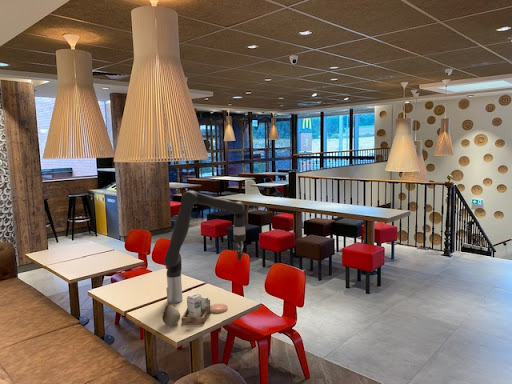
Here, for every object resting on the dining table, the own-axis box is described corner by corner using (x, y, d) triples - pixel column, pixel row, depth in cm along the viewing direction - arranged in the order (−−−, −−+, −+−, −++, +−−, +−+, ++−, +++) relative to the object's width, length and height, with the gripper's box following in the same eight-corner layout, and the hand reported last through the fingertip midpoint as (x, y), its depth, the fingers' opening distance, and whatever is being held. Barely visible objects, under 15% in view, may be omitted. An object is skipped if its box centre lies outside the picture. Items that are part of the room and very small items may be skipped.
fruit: (174, 318, 226) (172, 299, 224) (184, 322, 220) (183, 303, 218) (159, 325, 218) (158, 305, 217) (170, 329, 212) (168, 309, 211)
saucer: (206, 313, 231) (206, 311, 231) (210, 305, 243) (210, 303, 243) (225, 313, 230) (225, 311, 230) (229, 305, 242) (229, 303, 242)
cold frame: (181, 323, 219) (180, 307, 218) (188, 312, 233) (187, 297, 232) (206, 323, 218) (205, 307, 217) (211, 313, 232) (210, 297, 230)
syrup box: (195, 321, 221) (193, 297, 219) (188, 319, 225) (187, 295, 223) (202, 318, 225) (201, 294, 223) (196, 315, 229) (194, 292, 227)
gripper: (234, 230, 250) (235, 254, 252) (232, 235, 236) (233, 261, 238) (246, 230, 249) (247, 254, 251) (244, 235, 235) (245, 261, 237)
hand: (240, 257), depth 245 cm, fingers open, 8 cm apart
